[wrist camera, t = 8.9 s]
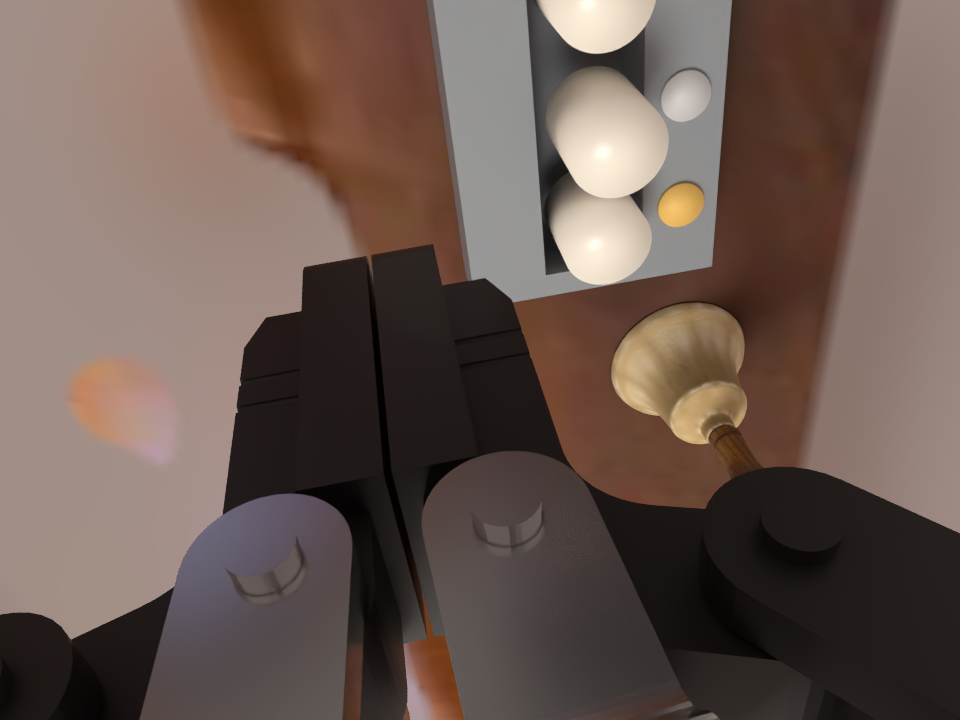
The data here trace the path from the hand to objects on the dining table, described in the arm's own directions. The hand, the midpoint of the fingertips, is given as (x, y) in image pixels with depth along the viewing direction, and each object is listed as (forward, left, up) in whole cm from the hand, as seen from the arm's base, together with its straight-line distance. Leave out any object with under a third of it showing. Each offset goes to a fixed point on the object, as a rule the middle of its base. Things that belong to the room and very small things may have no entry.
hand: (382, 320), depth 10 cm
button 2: (+3, +9, -26) cm, 28 cm away
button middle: (+8, +9, -25) cm, 27 cm away
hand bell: (+26, +15, -29) cm, 42 cm away
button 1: (+13, +9, -26) cm, 31 cm away
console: (+8, +9, -29) cm, 31 cm away
